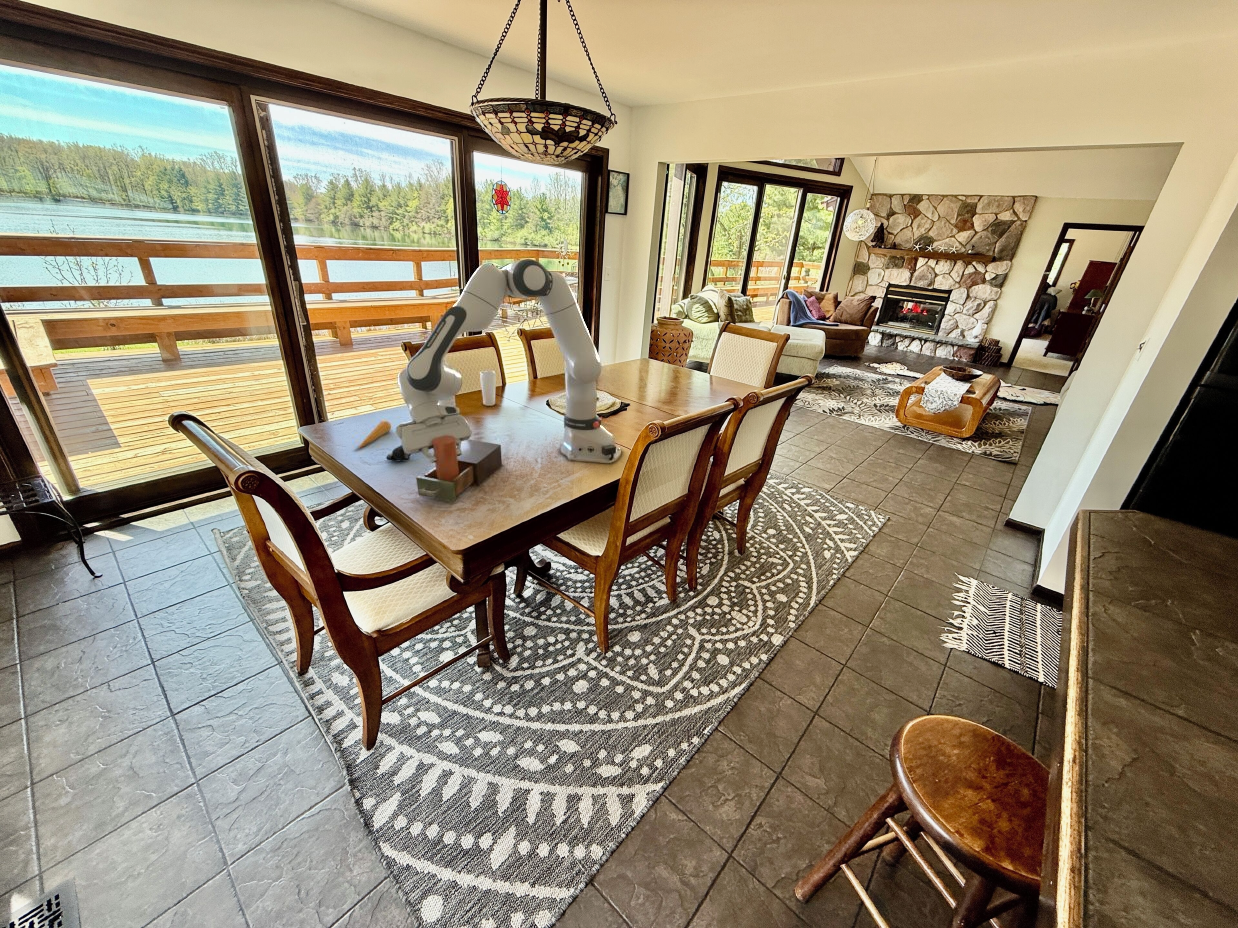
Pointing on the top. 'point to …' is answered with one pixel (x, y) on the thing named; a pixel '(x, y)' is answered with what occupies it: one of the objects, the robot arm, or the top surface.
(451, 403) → the water bottle
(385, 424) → the carrot
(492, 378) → the drinking glass
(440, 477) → the terracotta cylinder
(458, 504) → the top surface
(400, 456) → the can opener
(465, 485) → the drawer
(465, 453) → the cabinet
